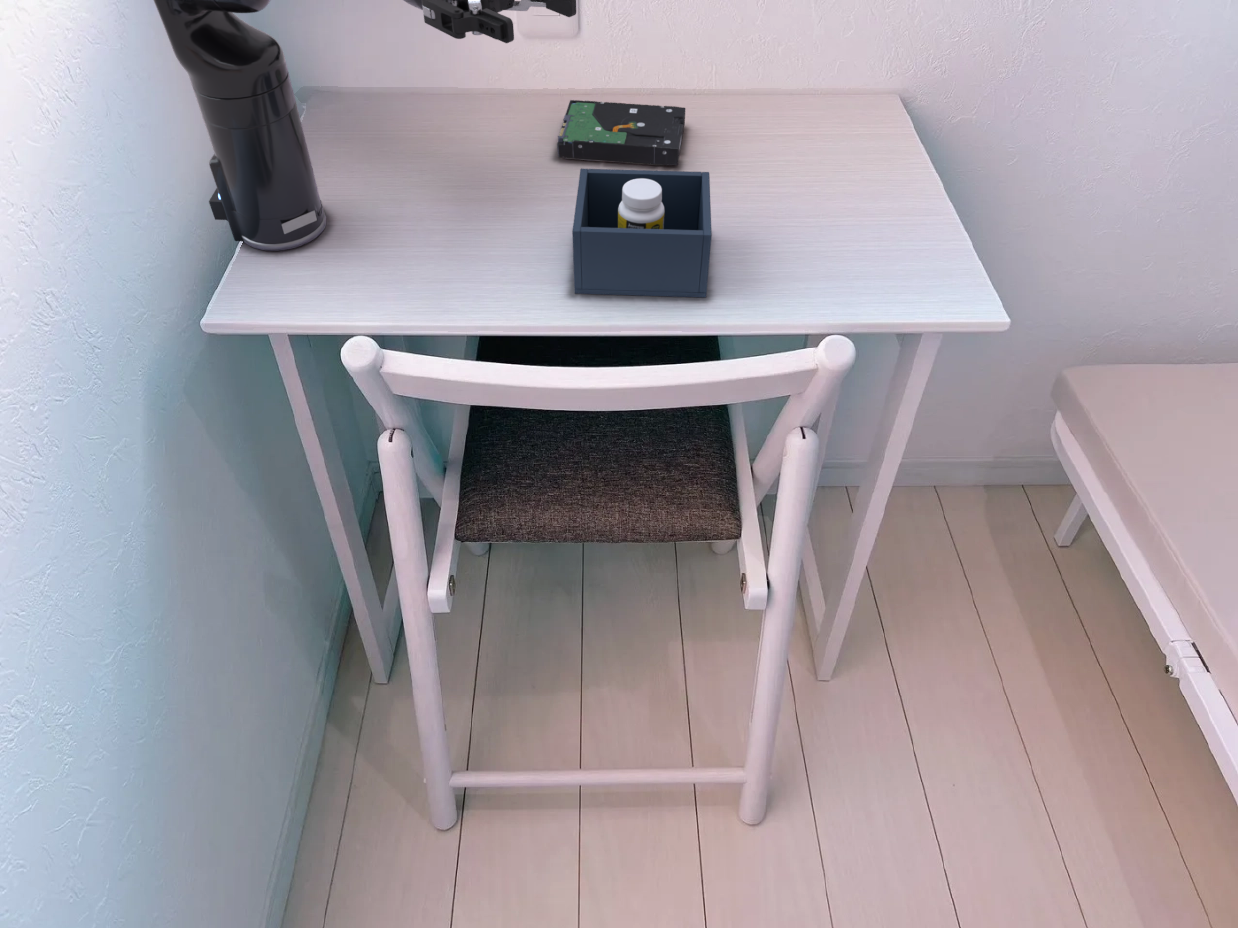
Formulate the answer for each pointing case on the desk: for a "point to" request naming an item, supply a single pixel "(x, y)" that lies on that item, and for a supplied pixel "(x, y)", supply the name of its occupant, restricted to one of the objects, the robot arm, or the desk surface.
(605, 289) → the bin
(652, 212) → the supplement bottle
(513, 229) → the desk surface
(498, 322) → the desk surface
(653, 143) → the disk drive
